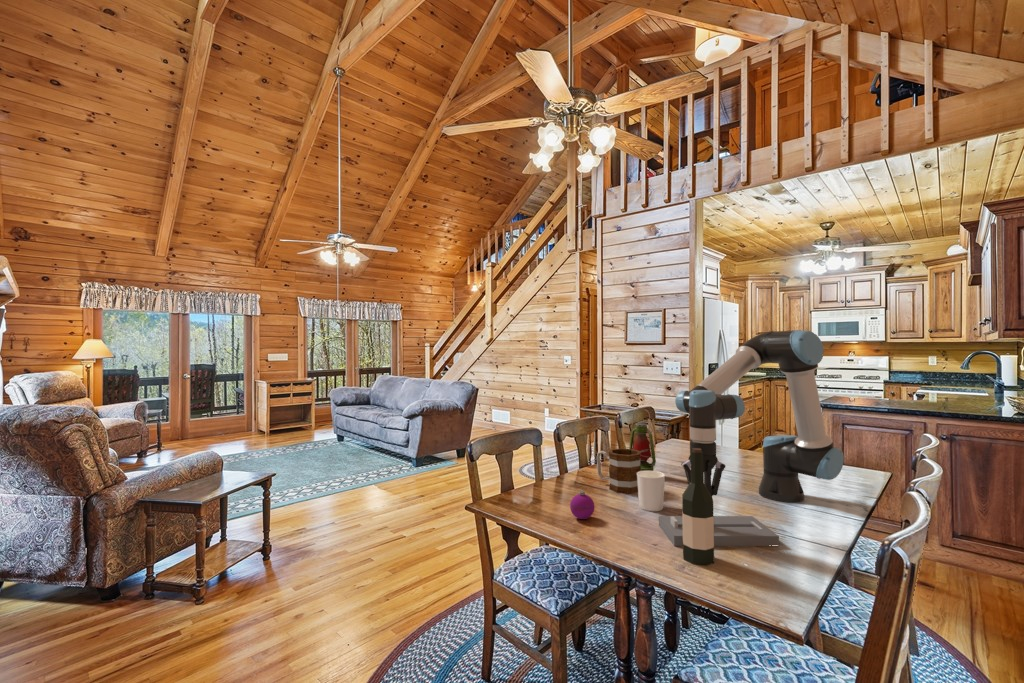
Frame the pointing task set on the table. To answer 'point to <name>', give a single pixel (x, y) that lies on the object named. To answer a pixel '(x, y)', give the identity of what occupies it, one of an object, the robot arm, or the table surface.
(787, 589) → the table surface
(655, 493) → the candle holder
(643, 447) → the lantern
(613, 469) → the mug
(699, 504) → the wine bottle
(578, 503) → the christmas ornament
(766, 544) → the panel
